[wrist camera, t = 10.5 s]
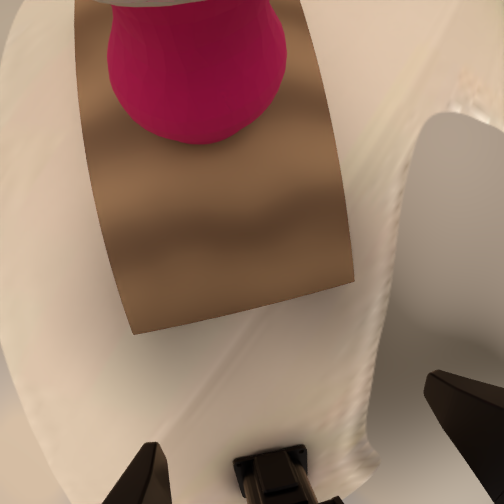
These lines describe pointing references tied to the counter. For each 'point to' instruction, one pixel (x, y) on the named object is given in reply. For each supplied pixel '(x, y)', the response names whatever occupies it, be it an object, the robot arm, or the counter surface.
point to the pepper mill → (195, 64)
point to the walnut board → (215, 193)
